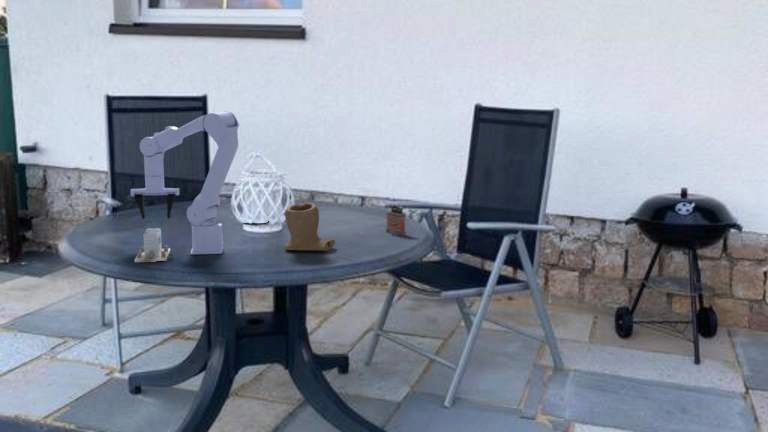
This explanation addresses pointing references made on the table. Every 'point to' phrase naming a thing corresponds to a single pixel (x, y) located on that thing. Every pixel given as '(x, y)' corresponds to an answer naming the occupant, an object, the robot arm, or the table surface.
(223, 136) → the robot arm
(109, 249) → the table surface
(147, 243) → the block
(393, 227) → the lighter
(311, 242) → the brown hollow piece
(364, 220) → the table surface
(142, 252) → the birch pin tray
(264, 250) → the table surface
